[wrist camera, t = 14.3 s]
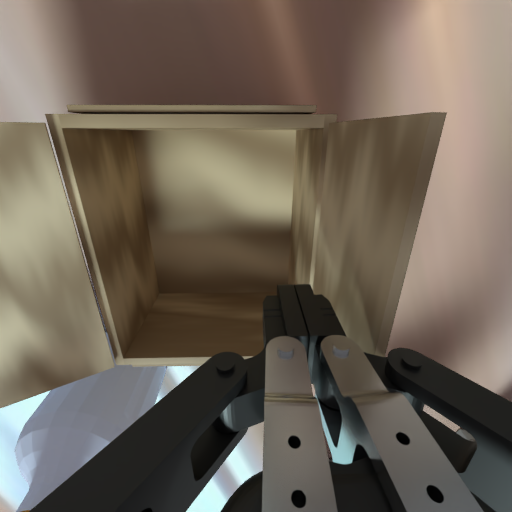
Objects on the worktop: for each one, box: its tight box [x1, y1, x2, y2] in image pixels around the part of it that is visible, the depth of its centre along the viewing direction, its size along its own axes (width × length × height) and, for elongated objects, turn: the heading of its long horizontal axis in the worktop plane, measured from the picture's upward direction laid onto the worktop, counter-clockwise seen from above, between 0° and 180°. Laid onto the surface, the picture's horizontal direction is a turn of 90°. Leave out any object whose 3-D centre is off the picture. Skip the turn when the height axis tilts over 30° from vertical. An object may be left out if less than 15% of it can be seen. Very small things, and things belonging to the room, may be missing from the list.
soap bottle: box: [15, 332, 166, 512], centre depth 20 cm, size 9×9×25 cm
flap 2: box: [313, 112, 446, 388], centre depth 13 cm, size 15×1×7 cm, turn 0°
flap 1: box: [0, 122, 115, 408], centre depth 14 cm, size 15×1×7 cm
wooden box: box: [45, 105, 337, 367], centre depth 20 cm, size 17×14×9 cm
